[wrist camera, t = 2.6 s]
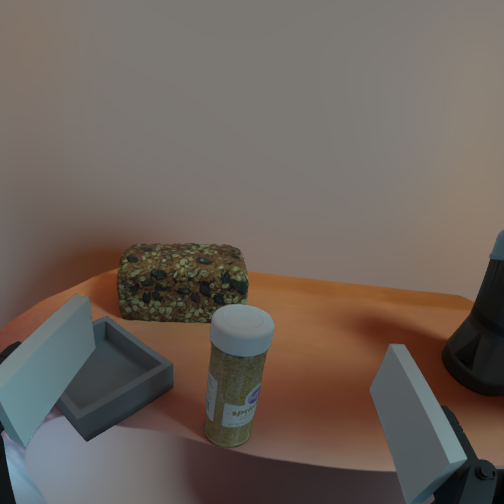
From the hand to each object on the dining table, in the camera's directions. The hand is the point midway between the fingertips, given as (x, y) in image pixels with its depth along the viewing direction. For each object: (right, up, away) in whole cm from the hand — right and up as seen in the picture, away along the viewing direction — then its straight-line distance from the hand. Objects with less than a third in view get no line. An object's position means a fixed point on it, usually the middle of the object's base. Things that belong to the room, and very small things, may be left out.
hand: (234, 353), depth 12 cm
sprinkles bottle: (-2, -13, +14) cm, 19 cm away
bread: (-10, -5, +35) cm, 37 cm away
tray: (-16, -10, +16) cm, 25 cm away
